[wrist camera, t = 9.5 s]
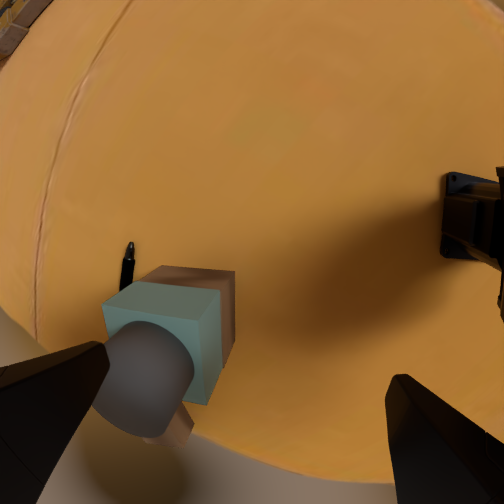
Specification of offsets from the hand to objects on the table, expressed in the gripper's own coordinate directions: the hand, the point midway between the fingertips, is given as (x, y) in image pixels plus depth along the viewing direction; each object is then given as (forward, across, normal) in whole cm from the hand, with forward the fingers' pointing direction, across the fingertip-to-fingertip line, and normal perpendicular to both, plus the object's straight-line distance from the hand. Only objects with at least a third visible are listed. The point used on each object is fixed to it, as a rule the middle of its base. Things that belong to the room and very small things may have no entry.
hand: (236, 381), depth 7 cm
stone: (+5, +6, +4) cm, 9 cm away
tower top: (+9, +6, +4) cm, 12 cm away
